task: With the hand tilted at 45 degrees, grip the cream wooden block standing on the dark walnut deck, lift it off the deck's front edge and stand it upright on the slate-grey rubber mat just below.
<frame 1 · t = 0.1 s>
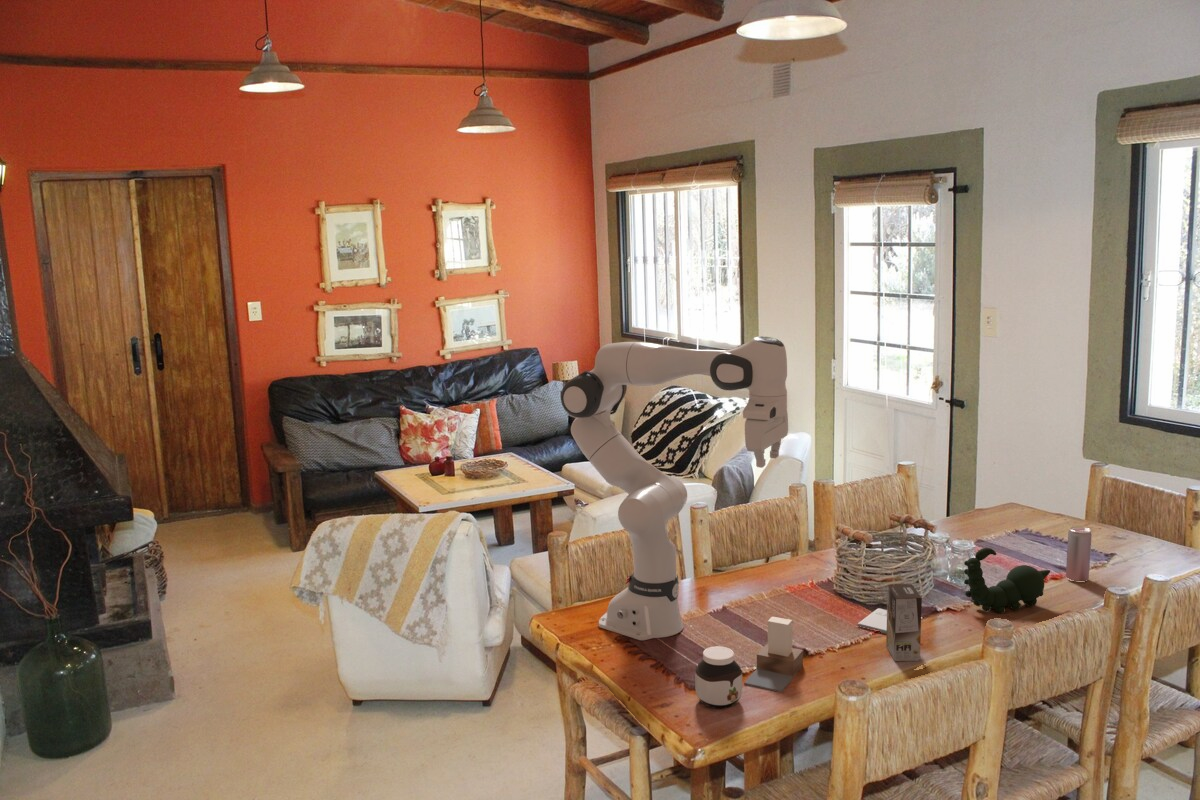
hand: (767, 462, 243), 48 cm above the table, tool pointing down, fingers open, 8 cm apart
deck: (779, 667, 242), on the table
mat: (768, 681, 236), on the table
coffee box: (902, 653, 248), on the table
beverage can: (1076, 580, 291), on the table
external hard drive: (882, 625, 266), on the table
spread jar: (718, 697, 229), on the table
toy figurine: (1007, 608, 273), on the table
block: (779, 652, 242), point 4 cm above the table, touching deck
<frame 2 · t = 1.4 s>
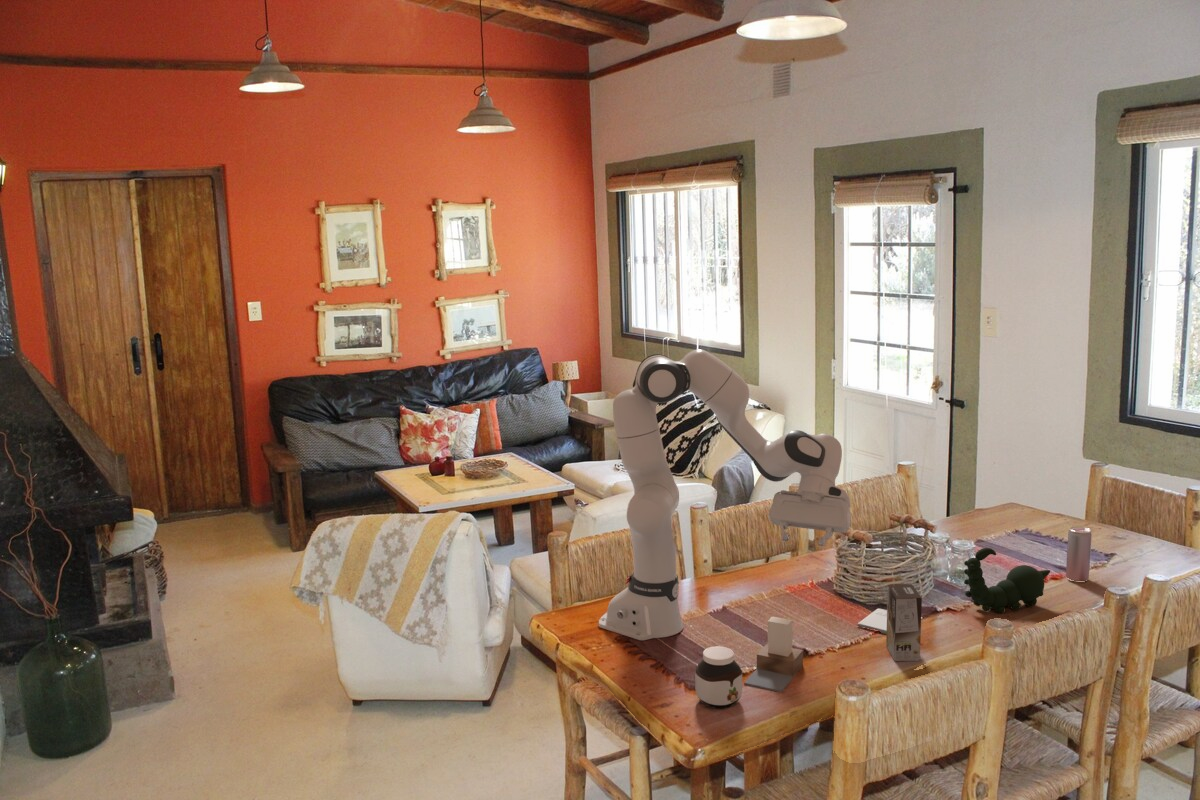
hand: (802, 542, 251), 26 cm above the table, tool tilted 45°, fingers open, 8 cm apart
nothing on the table moved.
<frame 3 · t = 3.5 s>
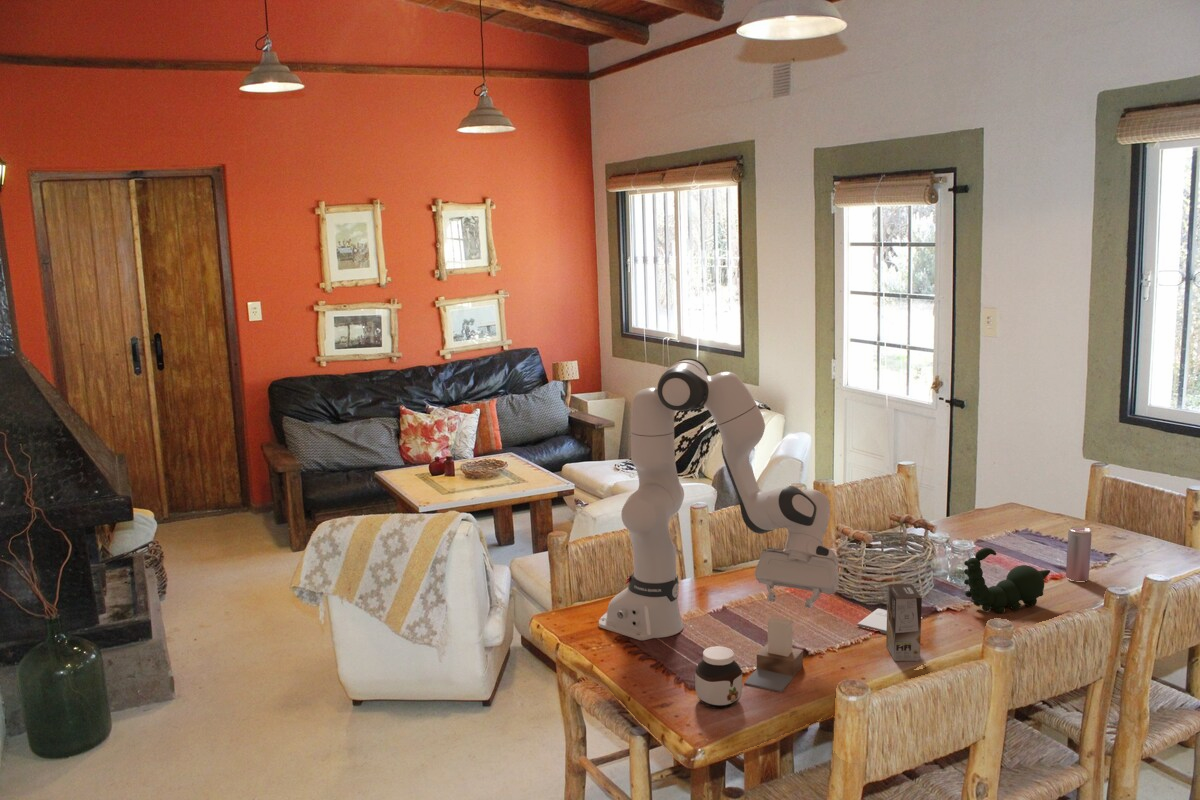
hand: (789, 603, 245), 14 cm above the table, tool tilted 45°, fingers open, 8 cm apart
nothing on the table moved.
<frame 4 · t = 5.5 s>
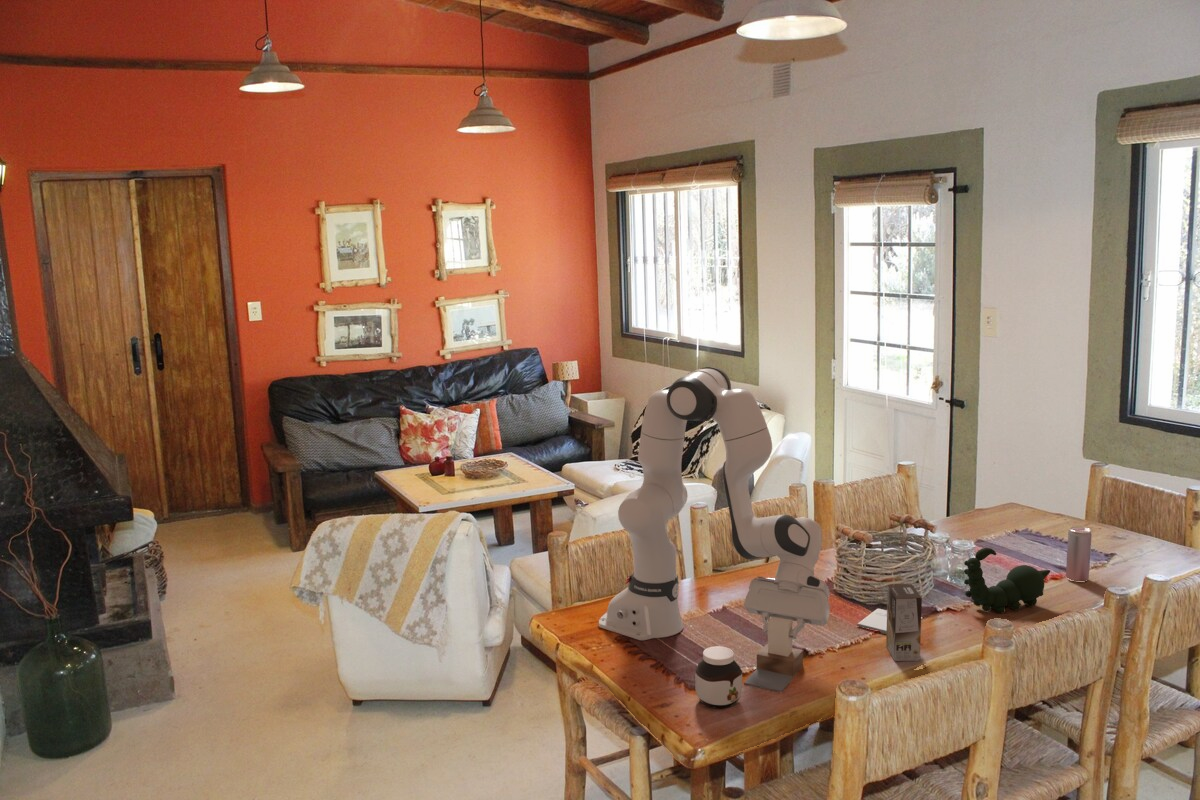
hand: (779, 635, 240), 9 cm above the table, tool tilted 45°, fingers closed on block, 5 cm apart
block: (779, 652, 242), point 4 cm above the table, touching deck, gripper
everything else where it was.
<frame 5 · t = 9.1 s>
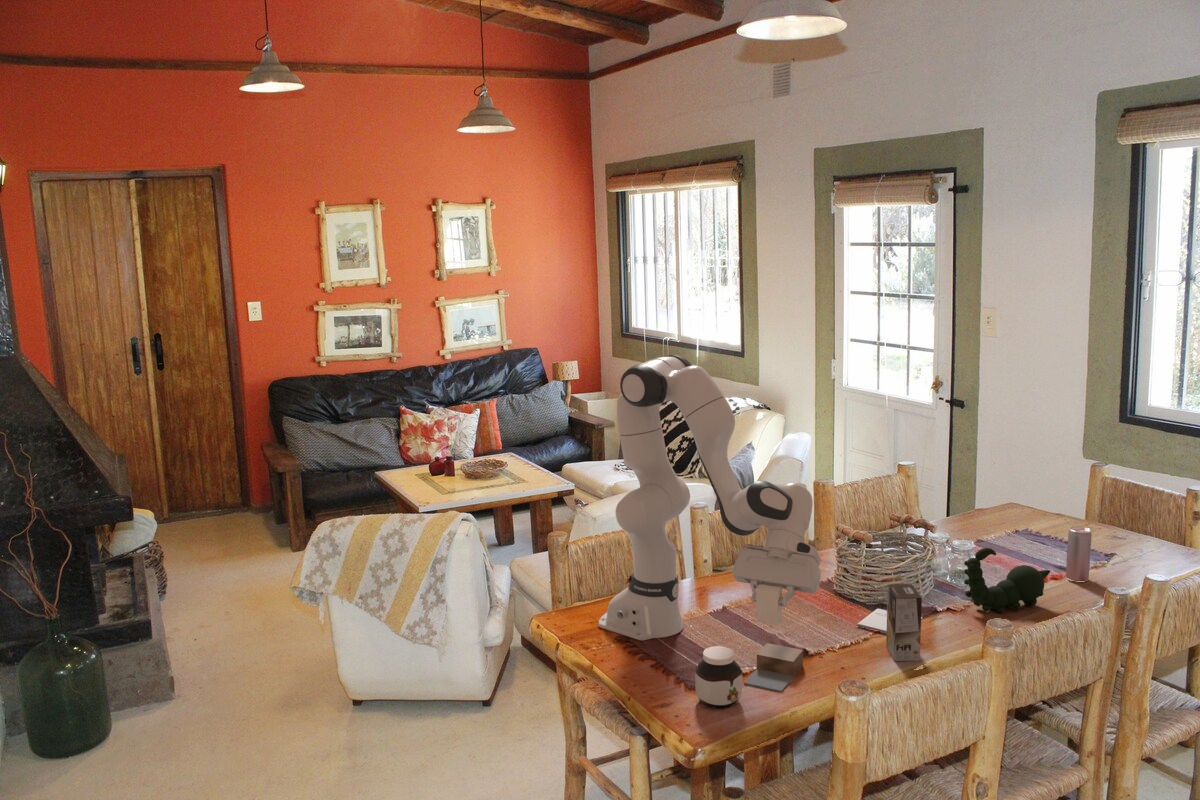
hand: (768, 603, 232), 19 cm above the table, tool tilted 45°, fingers closed on block, 5 cm apart
block: (769, 621, 233), point 15 cm above the table, touching gripper
everything else where it was.
when the fingers open (6 cm above the table, at t = 12.3 s): block drops 1 cm, resting on mat.
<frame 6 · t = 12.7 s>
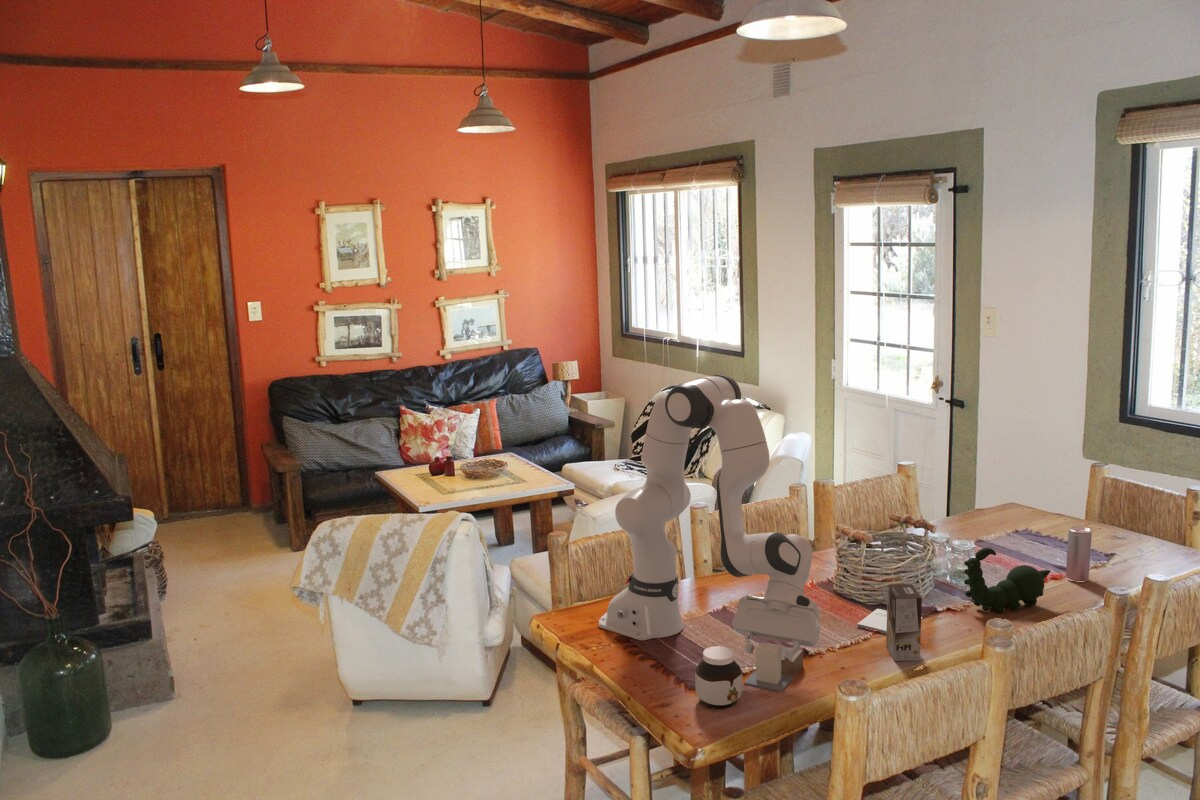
hand: (767, 656, 234), 6 cm above the table, tool tilted 45°, fingers open, 8 cm apart
block: (768, 679, 236), resting on mat
everything else where it was.
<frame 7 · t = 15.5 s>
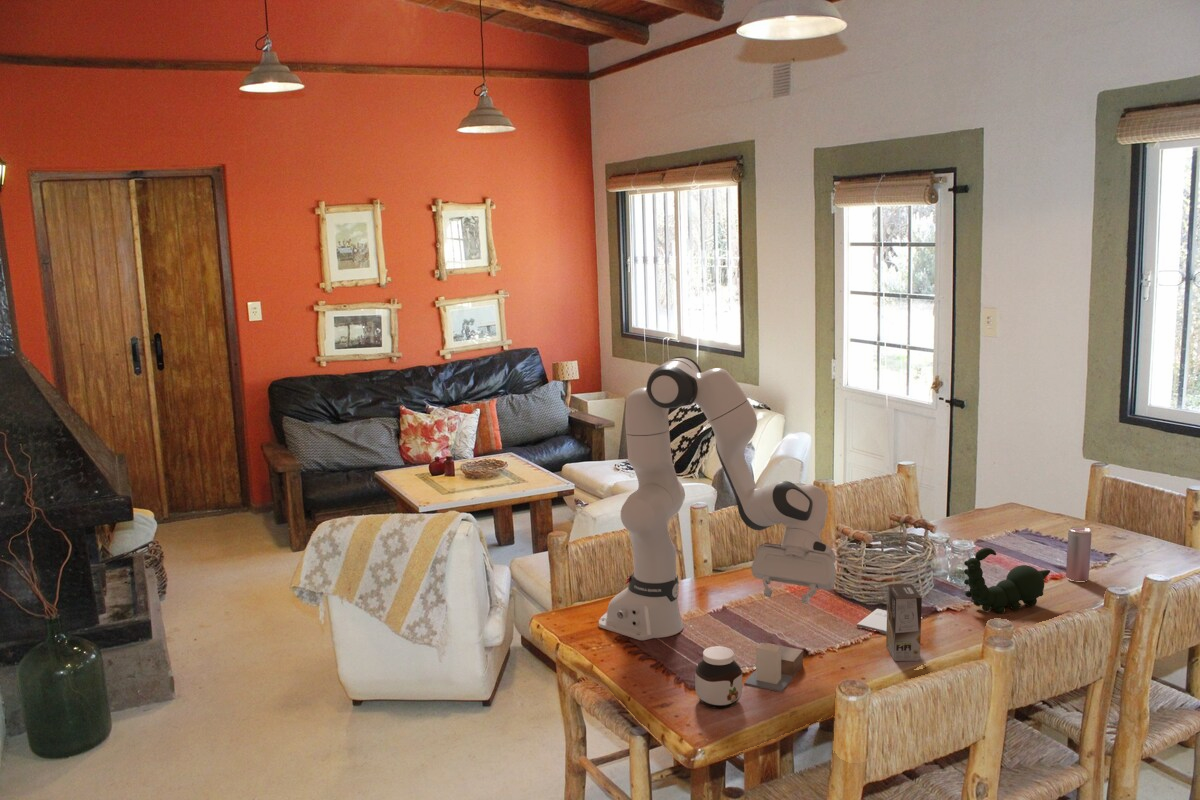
hand: (785, 599, 243), 16 cm above the table, tool tilted 45°, fingers open, 8 cm apart
nothing on the table moved.
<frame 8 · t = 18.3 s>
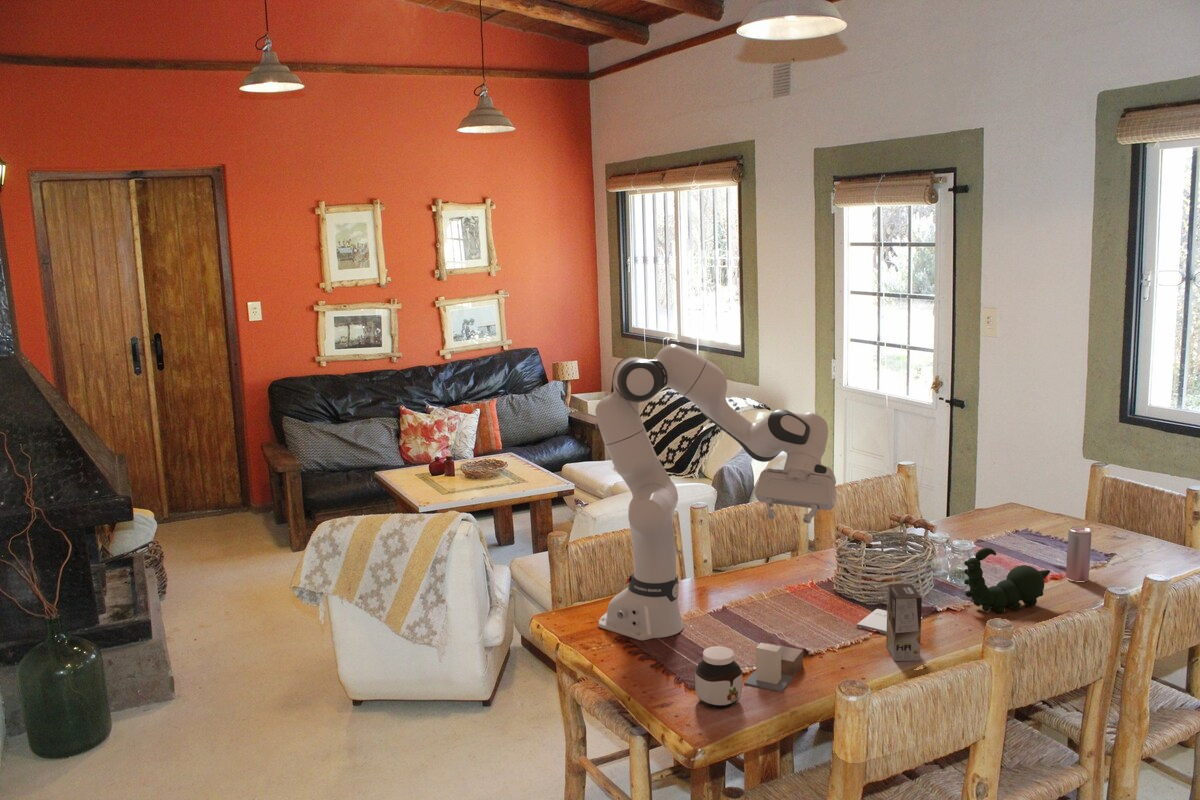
hand: (788, 519, 253), 31 cm above the table, tool tilted 45°, fingers open, 8 cm apart
nothing on the table moved.
at the end: block 0.1 cm off-centre on the mat, point 0.4 cm above the mat's base; block tilted 0°; the gripper is holding nothing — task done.
